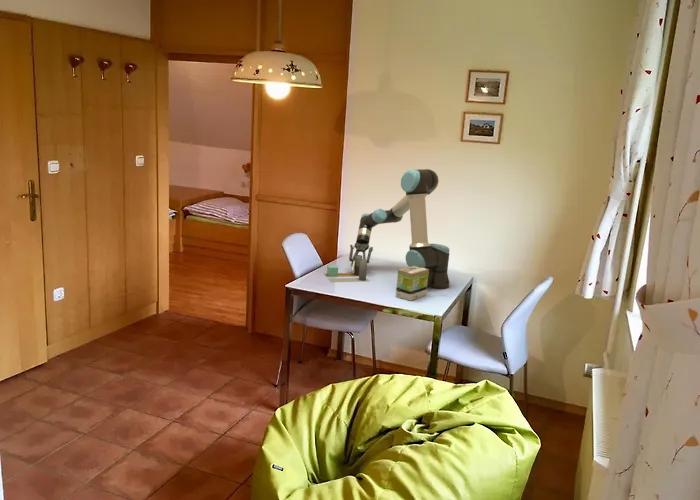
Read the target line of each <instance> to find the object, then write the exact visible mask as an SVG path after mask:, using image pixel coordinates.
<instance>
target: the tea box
mask: <svg viewBox="0 0 700 500" xmlns="http://www.w3.org/2000/svg"><path fill="white" fill-rule="evenodd" d="M428 275H429V269H425V268H422V267H418V266H411V267H408V266H407V267H405V268H404V267H403V268H400V269H398V270H397V278H396V287H395V289H396V290H395V297H396V298H400V299H403V300H406V301H410V302H412V301H414V300H416V299H419V298H422V297H425V296H427V292H428V287H427V283H428Z"/></svg>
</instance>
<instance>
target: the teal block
mask: <svg viewBox="0 0 700 500" xmlns="http://www.w3.org/2000/svg"><path fill="white" fill-rule="evenodd" d="M326 273H327V275H328V276H338V273H339V267H338V266H337V265H335V264H334V265H331V264H330V265H327V266H326Z"/></svg>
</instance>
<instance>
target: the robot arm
mask: <svg viewBox="0 0 700 500" xmlns="http://www.w3.org/2000/svg"><path fill="white" fill-rule="evenodd" d="M438 185H439V176H438V174H437V172H436V171H434V170H432V169H429V168H427V169H426V168H425V169H415V168H414V169H410V170H407V171H405V172H404V173H403V174H402V177H401V179H400V187H401V189H402V191H404V192H405V195H404V196H403V197H402V198H401V199H400V200H399V201H398V202H397V203H396V204H395V205H393V206H392V207H391V208H390V209H387V210H384V209H382V208H378V209H375V210H373V212H371V213H368V212H366V213H363V214H362V215H361V217H360V220H359V226H358V230H357V235H356V236H357V237H356V240H355V243H354V244H350V246H349V247H350V251H349V255H348V256H349V257H348V260H349V262H351V263H350V266H351V273H354V269H355V255H359V253H360V252H361V253H362V260H367V264H369V263H370V259H371V255H372V252H373V251H374V247H373V246H370V239H371V235H372V230H373V228H374V227H376V226H378V225H382V224H390V223H391V224H392V223H399V222H401V221H402V219H403V218H404V215H405V214H406V213H407V212H409V215H410V216H409V217H410V219H409V220H410V234H411V244H410V245H409V250H408V251H407V252H406V254H405V263H406V265H407V267H411V266H418V267H422V268H425V269H429V275H428V283H427V288H430V289H436V290H437V289H438V290H443V289H448V288H449V287H450V279H449V274H448V269H449V261H450V248H449V246H446V245H444V244H439V243H429V240H428V237H429V236H428V224H427V223H428V221H427V206H426V197H427V196H429V195H431V194H432V193H433V192H434V191H435V190H436V188H437V187H438ZM354 250H355V252H354ZM367 250H368V253H367V257H366V251H367ZM353 252H354V253H353Z"/></svg>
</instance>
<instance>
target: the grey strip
mask: <svg viewBox="0 0 700 500" xmlns="http://www.w3.org/2000/svg"><path fill="white" fill-rule="evenodd" d="M367 268H368V263H367V259H366V260H363V259H362V260H360V268H359V276H358V277H328V278H327V280H328V281H329V282H330V283H357V282H361V283H362V282H370V280H369V279H368V278H367Z"/></svg>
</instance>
